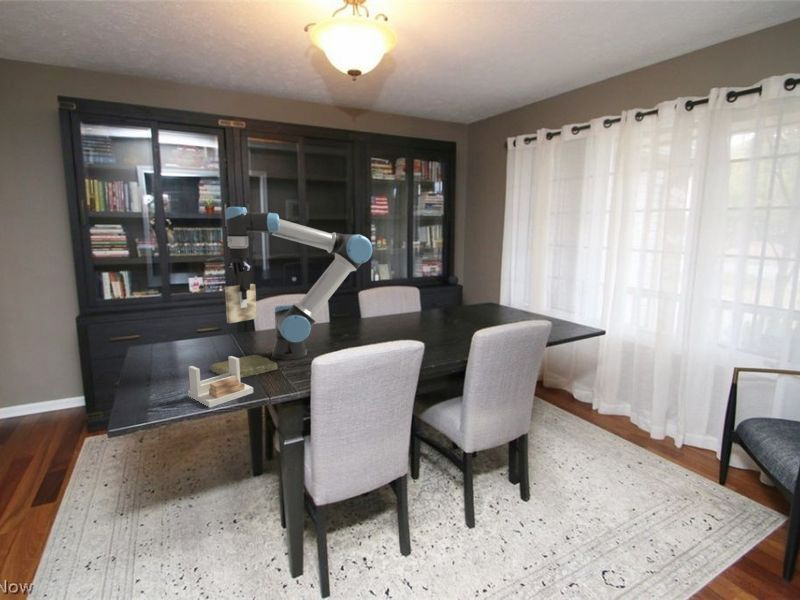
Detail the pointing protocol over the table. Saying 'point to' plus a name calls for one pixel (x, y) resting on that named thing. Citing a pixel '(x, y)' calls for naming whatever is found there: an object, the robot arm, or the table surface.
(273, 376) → the table surface
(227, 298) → the birch board
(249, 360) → the decorative tile
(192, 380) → the board rack
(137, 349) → the table surface
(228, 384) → the offcut upper
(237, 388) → the offcut lower
